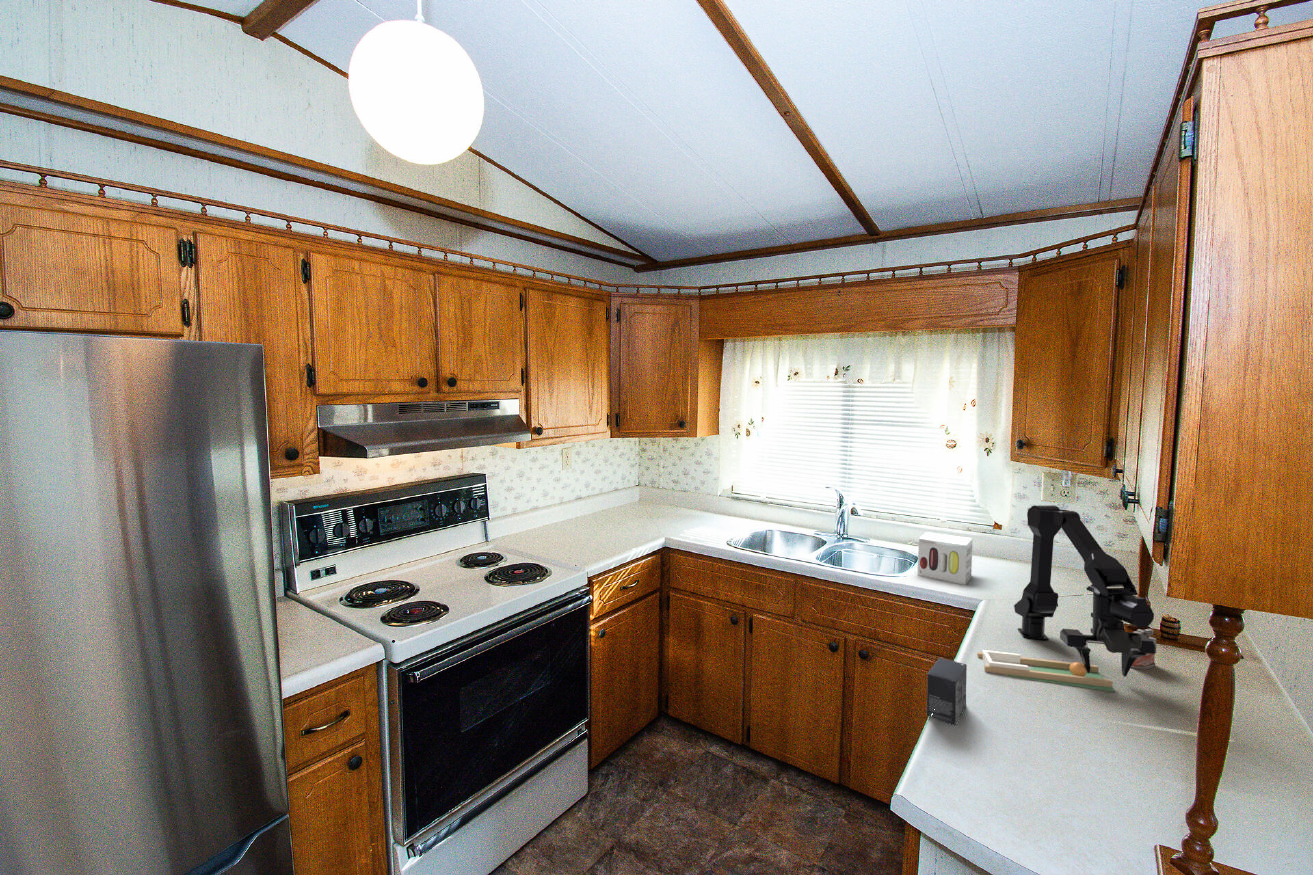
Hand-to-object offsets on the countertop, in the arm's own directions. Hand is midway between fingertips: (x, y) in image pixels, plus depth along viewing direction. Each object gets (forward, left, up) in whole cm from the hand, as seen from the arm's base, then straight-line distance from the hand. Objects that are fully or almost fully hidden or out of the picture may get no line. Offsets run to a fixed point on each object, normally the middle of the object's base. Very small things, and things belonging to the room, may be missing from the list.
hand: (1106, 673), depth 147 cm
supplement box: (-75, -25, -3) cm, 79 cm away
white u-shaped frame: (-1, -22, -2) cm, 22 cm away
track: (-1, -14, -2) cm, 14 cm away
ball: (0, -6, 0) cm, 6 cm away
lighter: (-13, +13, -2) cm, 18 cm away
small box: (+27, -41, -3) cm, 49 cm away
